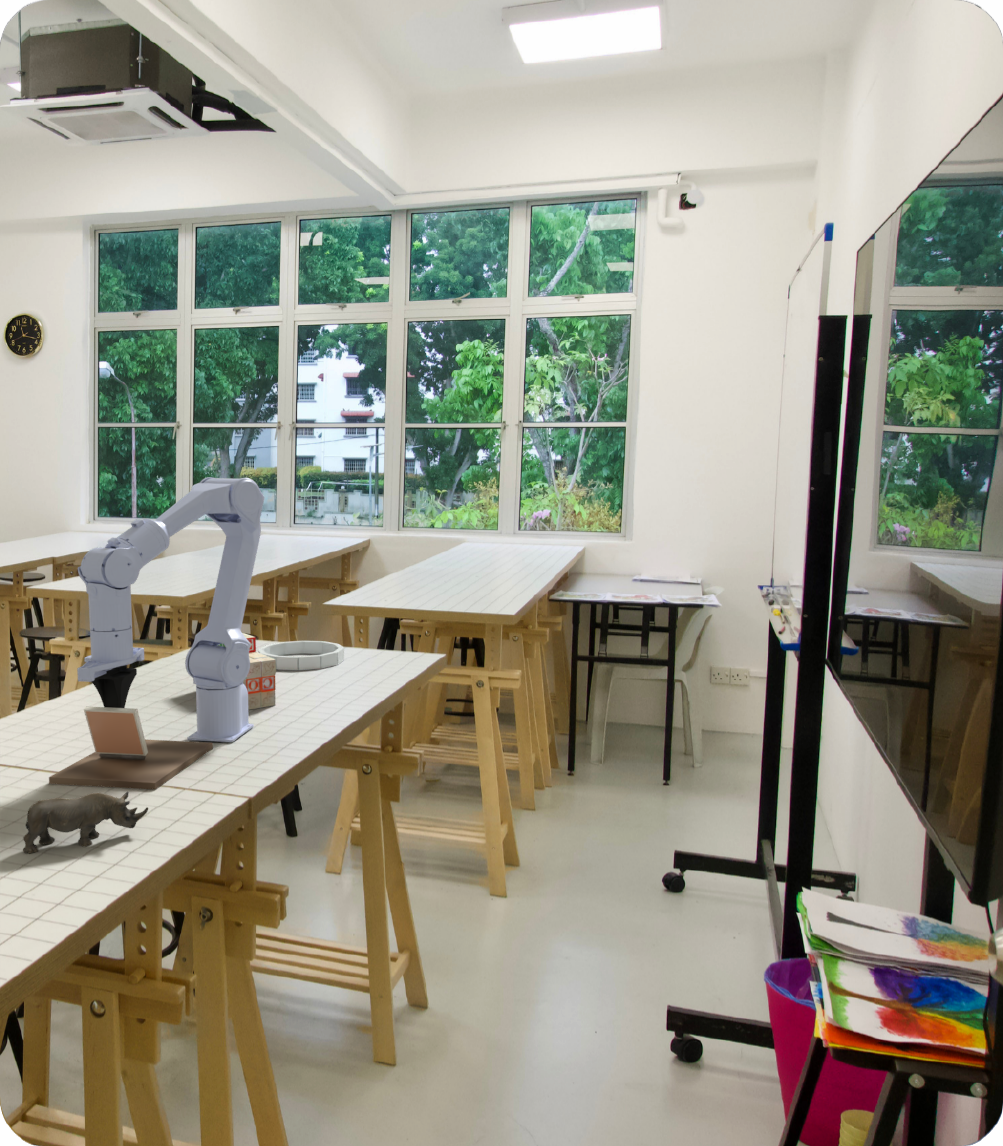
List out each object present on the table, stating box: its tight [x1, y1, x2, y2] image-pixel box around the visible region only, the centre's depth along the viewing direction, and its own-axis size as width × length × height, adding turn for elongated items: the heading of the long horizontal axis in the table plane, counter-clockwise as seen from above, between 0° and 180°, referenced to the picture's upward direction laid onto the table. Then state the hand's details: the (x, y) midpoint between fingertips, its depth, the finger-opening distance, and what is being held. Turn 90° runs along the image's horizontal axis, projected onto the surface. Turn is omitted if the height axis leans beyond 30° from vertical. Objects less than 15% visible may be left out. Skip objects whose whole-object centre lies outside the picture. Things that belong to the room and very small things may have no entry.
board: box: [48, 738, 214, 791], centre depth 130 cm, size 18×16×2 cm
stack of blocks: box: [218, 632, 277, 711], centre depth 171 cm, size 21×6×12 cm, turn 40°
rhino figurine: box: [22, 791, 149, 854], centre depth 103 cm, size 4×14×6 cm, turn 114°
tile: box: [83, 706, 148, 756], centre depth 128 cm, size 8×8×1 cm
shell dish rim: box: [257, 640, 345, 671], centre depth 204 cm, size 20×20×3 cm
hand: (114, 717), depth 128 cm, fingers closed, pressing on tile
